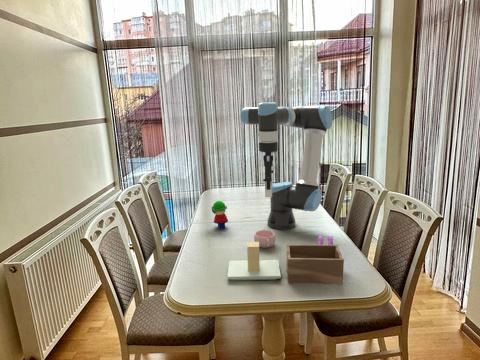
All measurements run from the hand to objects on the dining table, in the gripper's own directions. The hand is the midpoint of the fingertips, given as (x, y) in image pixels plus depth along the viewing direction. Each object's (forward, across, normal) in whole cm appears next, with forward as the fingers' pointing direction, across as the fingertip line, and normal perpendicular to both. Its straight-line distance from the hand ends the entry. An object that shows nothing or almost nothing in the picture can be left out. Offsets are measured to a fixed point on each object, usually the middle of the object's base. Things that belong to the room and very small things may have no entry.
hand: (268, 192), depth 141 cm
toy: (+29, -33, -27) cm, 52 cm away
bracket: (+29, -1, +25) cm, 38 cm away
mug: (+29, -10, -2) cm, 31 cm away
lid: (+29, +15, -6) cm, 33 cm away
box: (+29, +16, +17) cm, 37 cm away
